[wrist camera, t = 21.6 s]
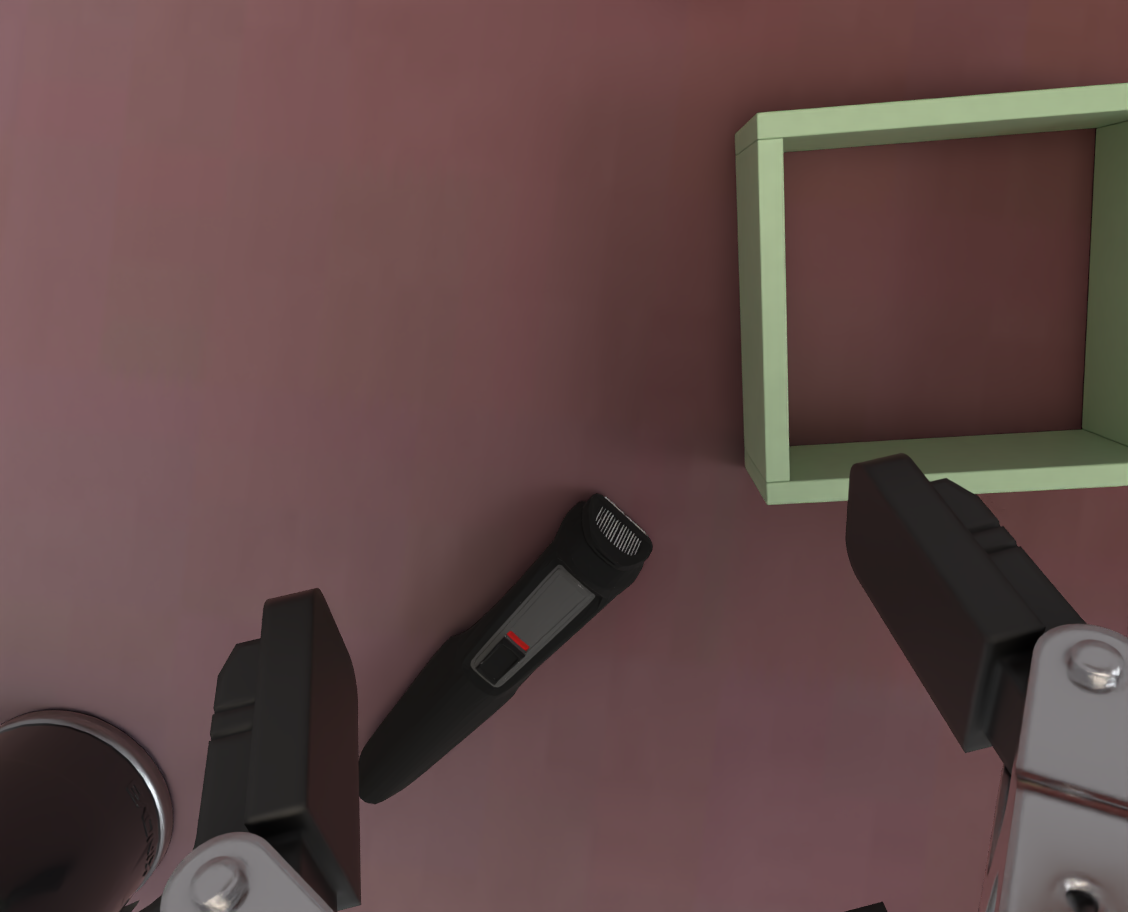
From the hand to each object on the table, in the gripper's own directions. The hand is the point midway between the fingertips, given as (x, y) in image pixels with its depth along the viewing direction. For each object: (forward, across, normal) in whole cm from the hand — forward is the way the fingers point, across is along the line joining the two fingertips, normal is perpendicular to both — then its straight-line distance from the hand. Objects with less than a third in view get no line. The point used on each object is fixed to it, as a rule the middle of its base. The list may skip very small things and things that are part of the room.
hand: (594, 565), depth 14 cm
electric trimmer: (+17, +3, +20) cm, 26 cm away
